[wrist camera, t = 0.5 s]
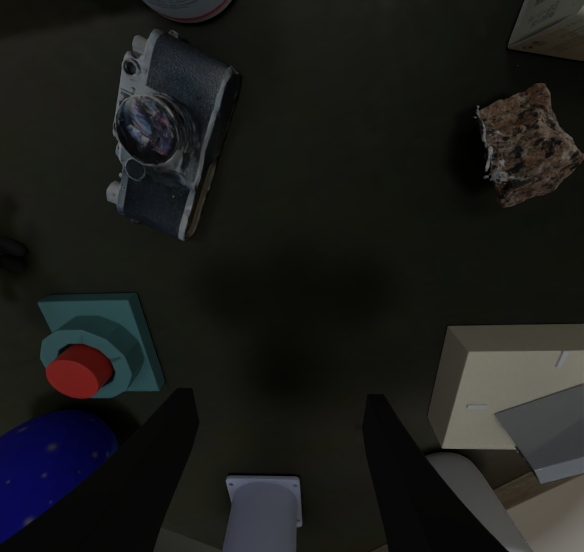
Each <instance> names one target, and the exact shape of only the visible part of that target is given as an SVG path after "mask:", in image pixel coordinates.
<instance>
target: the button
mask: <svg viewBox="0 0 584 552" xmlns="http://www.w3.org/2000/svg"><path fill="white" fill-rule="evenodd" d="M113 371H114V367H113V365H112V362H111V360H110V359H109V358H108V357H106V356H105V355H104V354H103V353H102V352H101V351H100V350H98V349H96V348H93V347H91V346H88V345H85V344H75V345H72V346H70V347H69V348H68V349H66V350H65V351H64V352H63V353H62V354H60V355H59V356H58V357H57V358H56V359H55V360H53V361H52V362H51V363H50V364H49V365H48V366H47V368H46V376H47V379H48V381H49V382H50V384H51V385H52V386H53V387H54V388H55V389H56V390H58V391H59V392H61V393H63V394H65V395H67V396H70V397H73V398H80V399H84V398H89V397H92V396H94V395H95V394H96V393H97V392H98V391H99V390H100V389H101V387H102V386H103V385H104V384H105V383H106V381H107V380H108V379H109V378H110V377H111V376H112V374H113Z"/></svg>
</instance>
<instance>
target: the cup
mask: <svg viewBox="0 0 584 552" xmlns="http://www.w3.org/2000/svg"><path fill="white" fill-rule="evenodd" d="M425 457H426V458H427V459H428V461H429V462H430V463H431V465H432V466H433V467H434V468H435V470H436V471H437V472H438V473H439V475H440V476H441V477H442V478H443V480H444V481H445V482H446V483H447V485H448V486H449V487H450V488H451V489H452V491H453V492H454V493H455V494H456V495H457V496H458V498H459V499H460V500H461V501H462V502H463V503H464V505H465V506H466V507H467V508H468V509H469V510H470V511H471V512H472V513H473V515H474V516H475V517H476V518H477V519H478V520H479V521H480V522H481V523H482V524H483V525H484V527H485V528H486V529H487V530H488V531H489V532H490V533H491V534H492V535H493V536H494V537H495V538H496V539H497V540H498V541H499V542H500V543H501V544H502V545H503V546H504V547H505V548H506V549H507V550H508V551H509V552H533V551H532V550H531V548H530V547H529V545H528V543H527V542H526V540H525V539H524V537H523V536H522V534H521V533H520V531H519V530H518V528H517V527H516V525H515V524H514V522H513V521H512V519H511V518H510V516H509V515H508V513H507V511H506V510H505V508H504V507H503V505H502V504H501V502H500V501H499V499H498V498H497V496H496V495H495V493H494V492H493V490H492V489H491V487H490V486H489V484H488V483H487V481H486V480H485V478H484V477H483V475H482V474H481V472H480V471H479V470H478V468H477V467H476V466H475V465H474V464H473V463H472V462H471V461H470V460H469V459H467V458H466V457H464V456H462V455H460V454H456V453H452V452H437V453H432V454H429V455H426V456H425Z"/></svg>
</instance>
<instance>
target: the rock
mask: <svg viewBox="0 0 584 552" xmlns="http://www.w3.org/2000/svg"><path fill="white" fill-rule="evenodd" d="M518 66H519V65H518ZM477 107H478V109H479V106H477ZM478 109H477V112H476V113H477V115H478V118H479V126H480V133H481V135H482V137H483V138H482V137H481V138H482V141H483V142H484V146H485V152H484V158H485V159H486V162H487V163H486V167H485V171H486V172H487V171H488V169H489V167H490V173H491V174H489V175H491V179H490V180H493V181H494V182H493V183H494V184H495V188H496V194H497V196H496V199H497V201H498V202H499V203H500V205H501V207H510V206H513V205H515V204H518V203H521V202H523V201H524V200H526V199H528V198H531V197H534V196H536V195H538V196H540V195H545V194H547V193H549V192H553V191H554V190H556V188H557V187H558V185H559V184H560V183H561V182H562V180H563V179H564V178H566V177H567V176H569V175H570V174H572V173H573V171H574V170H575V169H576V167H577V166H579V165H581V163H582V161H583V160H584V154H582V153H581V152H580V150H579V149H578V148H577V147H576V145H575V144H574V141H573V138H572V137H570V136H569V135H568V134H567V133H566V132H565V131H564V130H563V129H562V128H560V127H559V124H558V121H557V120H556V117H555V114H554V113H553V110H552V108H551V98H550V92H549V90H548V89H547V87H546V85H545V84H544V83H537V84H534V85H532V86H531V87H530V88H528V89H527V90H526V91H525V92H522V93H517V94H515V95H513V96H511V97H509V98H507V99H502V100H498V101H496V102H494V103H492V104H491V105H490V106H488V107H486V108H483V109H481V110H480V111H479V110H478ZM474 118H477V117H474ZM477 121H478V120H477ZM483 178H484V179H486V178H489V176H484V177H483Z"/></svg>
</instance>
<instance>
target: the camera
mask: <svg viewBox="0 0 584 552" xmlns="http://www.w3.org/2000/svg"><path fill="white" fill-rule="evenodd" d="M132 46H133V53H132V52H131V51H128V52H127V53H126V55H125V56H124V60H123V63H122V72H121V79H120V86H119V93H118V100H117V106H116V112H115V118H114V123H113V134H114V136H115V137H116V139H117V140H118V144H117V146H116V155H117V156H118V157H119V160H120V162H121V164H122V165H123V171H122V173H120V174H119V176H120V178H121V182H118V181H114V182H112V183H111V184H110V185H109V187H108V188H107V201H109V202H112V203H114V204H117V209H118V213H120V214H122V215H126V216H127V217H129V218H130V219H131V221H132V222H133V223H135V224H146V225H148V226H150V227H153V228H155V229H157V230H160V231H162V232H165V233H167V234H169V235H172V236H174V237H176V238H179V239H181V240H183V241H186V242H187V241H188V240H189V238H190V237H192V236H193V234H194V232H195V230H196V228H197V226H198V223H199V220H200V217H201V214H202V211H203V208H204V204H205V201H206V198H207V195H208V191H209V189H210V186H211V182H212V179H213V176H214V172H215V168H216V163H217V158H218V156H219V153H220V151H221V147H222V144H223V141H224V138H225V135H226V132H227V129H228V126H229V123H230V119H231V115H232V112H233V109H234V106H235V103H236V100H237V97H238V91H239V79H240V74H239V73H238V72H236V71H235V69H234V68H233V67H232V66H231V65H226V64H225V63H224V62H220V61H219V60H217V59H216V58H214V57H212V56H210V55H208V54H207V53H204V52H203V51H202V50H199V49H197V48H195V47H193V46H191V45H189V44H187V43H185V42H184V41H182V40H181V39H180V35H179V33H178V32H177V31H173V30H170V31H169V33H165V32H163V31H162V30H160V29H153V31H152V32H151V34H150V36H149V38H148V40H147V39H145V38H143V37H141V36H140V35H138V36H135V37H134V39H133V43H132Z"/></svg>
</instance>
